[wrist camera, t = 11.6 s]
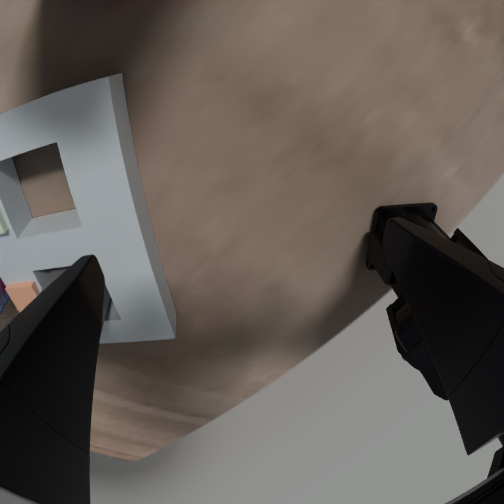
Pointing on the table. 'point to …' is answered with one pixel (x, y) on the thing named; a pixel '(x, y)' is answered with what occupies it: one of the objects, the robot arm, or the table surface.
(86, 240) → the socket panel
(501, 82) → the table surface
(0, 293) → the ink cartridge box
